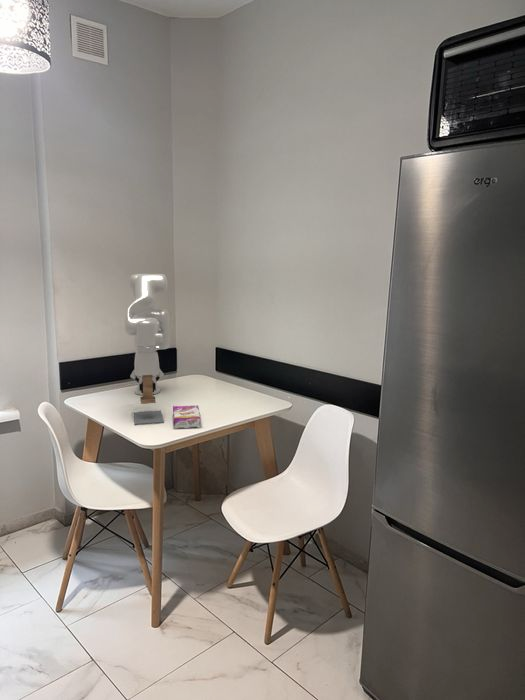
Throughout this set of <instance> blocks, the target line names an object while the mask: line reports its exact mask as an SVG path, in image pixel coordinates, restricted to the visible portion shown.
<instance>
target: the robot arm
mask: <svg viewBox="0 0 525 700" xmlns="http://www.w3.org/2000/svg"><path fill="white" fill-rule="evenodd" d="M168 284H169V283H168V278H167V276H166V275H165V274H164V273H136V274H132V275H131V276H130V277H129V286H130V288H131V290H132V293H133V295H134V298H135V299H134V301H132V302H131V303H130V304H129V306H128V307H127V309H126V311H125V315H124V318H125V319H124V328H125V332H126V333H127V335H129V336H134V337H133V340H134V346H135V354H134V369H133V370H132V372H131V374H130V378H131V379H133V380H135V381H136V382H137V388H136V389H134V394H136V395H138V396H143V383H142V378H143V375H152V380H153V394H154V395H157V394H159V393H161V389H160V388H159V387H158V384H157V383H158V382H159V380H160V379H161V378H163V377H164V375H165V374H164V372H163V371H162V370H161V368H160V362H159V355H158V351H159V350H167V349H169V348H170V346H171V329H170V328H171V327H170V324H171V323H170V314H169V310H167V309H165V308H155V302H156V299H155V298H156V297H155V294H156V293H158V294H159V293H166V292H167V290H168ZM135 316H136V317H135Z"/></svg>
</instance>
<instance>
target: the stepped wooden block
mask: <svg viewBox="0 0 525 700" xmlns="http://www.w3.org/2000/svg"><path fill="white" fill-rule="evenodd" d="M142 383H143V395H142V396H140V397H139V398H140V400H139V401H140V405H145V404H156V403H157V402H156V396H155V395H153V380H152V375H143V378H142Z"/></svg>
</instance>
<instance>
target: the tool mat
mask: <svg viewBox="0 0 525 700" xmlns="http://www.w3.org/2000/svg"><path fill="white" fill-rule="evenodd" d="M133 422H134V426H140V425H141V426H143V425H156V424H165V420H164V417H163V414H162V410H146V411H145V410H144V411H133Z"/></svg>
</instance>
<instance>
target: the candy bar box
mask: <svg viewBox="0 0 525 700" xmlns="http://www.w3.org/2000/svg"><path fill="white" fill-rule="evenodd" d="M199 407H200V406H199V405H173V406H172V423H173V425H172V427H173V429H198V428H201V426H202V425H201V424H202V423H201V421H202V419H201V417H202V416H201V412H200V408H199Z"/></svg>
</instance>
